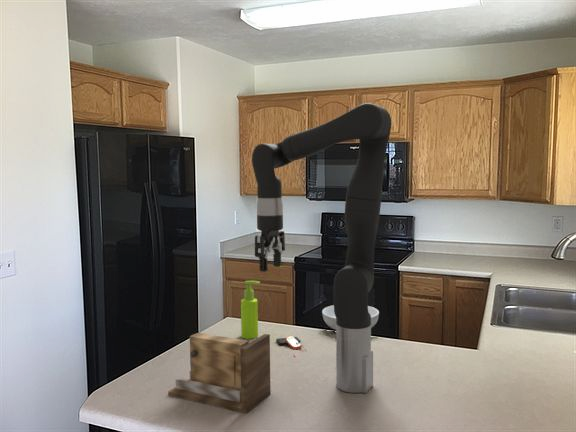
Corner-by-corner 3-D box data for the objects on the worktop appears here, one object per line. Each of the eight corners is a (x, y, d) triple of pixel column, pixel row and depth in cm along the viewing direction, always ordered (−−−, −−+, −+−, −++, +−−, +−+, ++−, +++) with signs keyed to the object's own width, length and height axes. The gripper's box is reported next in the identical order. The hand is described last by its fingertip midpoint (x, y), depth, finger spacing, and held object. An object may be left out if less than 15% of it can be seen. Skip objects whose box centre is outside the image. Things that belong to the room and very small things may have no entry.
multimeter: (324, 357, 162) (324, 346, 162) (287, 360, 160) (286, 350, 159) (309, 340, 180) (309, 330, 179) (275, 342, 177) (275, 333, 177)
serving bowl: (313, 324, 196) (313, 306, 195) (362, 318, 203) (362, 301, 203) (337, 341, 176) (337, 321, 176) (390, 334, 184) (390, 315, 183)
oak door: (252, 394, 132) (251, 341, 131) (242, 402, 128) (241, 347, 127) (198, 382, 140) (197, 332, 139) (187, 389, 135) (185, 338, 134)
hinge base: (270, 394, 135) (269, 334, 133) (246, 413, 124) (245, 349, 123) (196, 378, 145) (194, 323, 144) (168, 395, 135) (166, 335, 133)
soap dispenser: (258, 339, 179) (257, 283, 177) (239, 338, 180) (238, 282, 178) (262, 334, 184) (261, 279, 183) (244, 333, 186) (243, 278, 184)
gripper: (269, 215, 140) (270, 274, 142) (292, 211, 153) (292, 265, 154) (246, 215, 144) (247, 272, 145) (269, 211, 156) (270, 263, 158)
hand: (270, 268), depth 150 cm, fingers open, 8 cm apart
